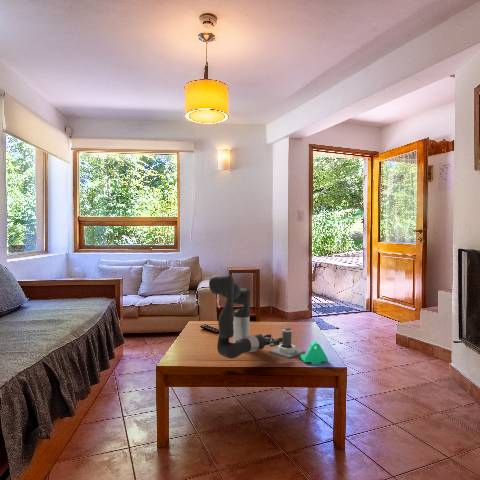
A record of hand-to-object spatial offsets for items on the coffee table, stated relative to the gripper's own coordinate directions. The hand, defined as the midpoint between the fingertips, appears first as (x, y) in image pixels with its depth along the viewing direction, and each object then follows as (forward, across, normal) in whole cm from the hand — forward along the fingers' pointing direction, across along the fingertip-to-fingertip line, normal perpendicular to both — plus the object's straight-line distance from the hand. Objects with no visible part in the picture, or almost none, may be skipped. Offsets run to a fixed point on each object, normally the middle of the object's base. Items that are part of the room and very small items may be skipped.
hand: (276, 337), depth 201 cm
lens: (+8, 0, +8) cm, 12 cm away
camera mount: (+9, -18, +10) cm, 22 cm away
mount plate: (+8, 0, +10) cm, 12 cm away
